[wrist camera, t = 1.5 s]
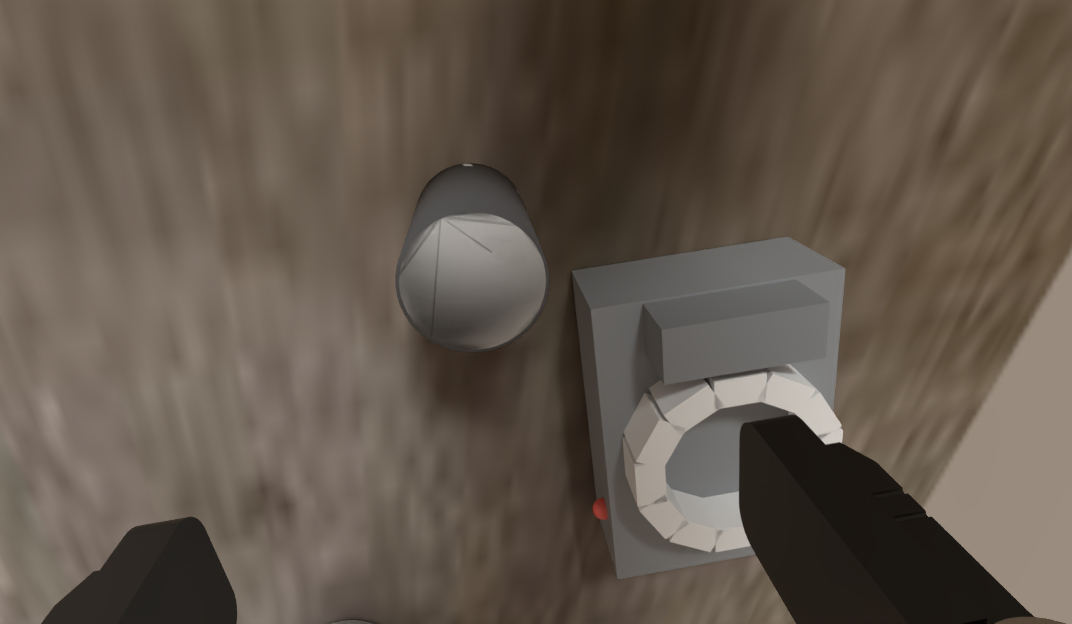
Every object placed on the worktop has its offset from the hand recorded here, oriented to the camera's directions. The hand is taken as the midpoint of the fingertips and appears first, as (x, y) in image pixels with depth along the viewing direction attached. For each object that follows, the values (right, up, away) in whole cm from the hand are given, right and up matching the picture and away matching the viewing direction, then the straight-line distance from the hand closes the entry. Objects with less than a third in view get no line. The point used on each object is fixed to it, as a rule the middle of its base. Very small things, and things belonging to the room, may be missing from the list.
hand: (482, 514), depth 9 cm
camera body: (+8, -1, +21) cm, 22 cm away
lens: (-2, +7, +16) cm, 18 cm away
